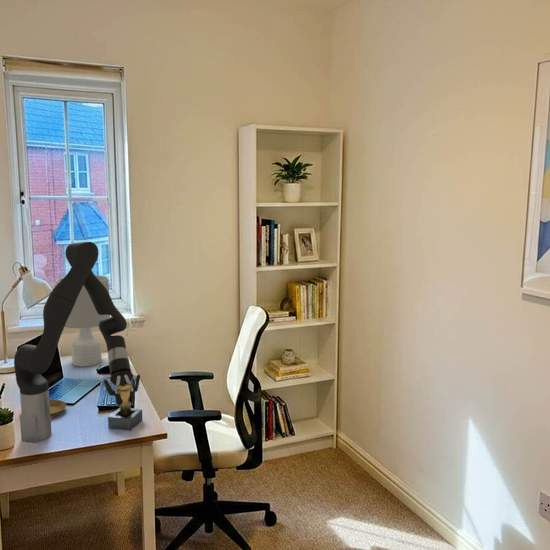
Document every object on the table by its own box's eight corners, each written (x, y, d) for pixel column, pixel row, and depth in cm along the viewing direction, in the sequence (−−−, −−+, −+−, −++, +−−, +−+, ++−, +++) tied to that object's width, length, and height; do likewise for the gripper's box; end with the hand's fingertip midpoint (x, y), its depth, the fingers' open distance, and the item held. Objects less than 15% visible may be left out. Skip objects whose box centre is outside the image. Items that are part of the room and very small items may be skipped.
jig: (130, 431, 195) (129, 419, 194) (108, 428, 197) (107, 416, 196) (142, 420, 204) (142, 409, 203) (121, 417, 206) (120, 406, 205)
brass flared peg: (128, 417, 197) (126, 388, 195) (115, 415, 198) (114, 387, 196) (134, 411, 202) (133, 383, 200) (123, 409, 203) (121, 382, 201)
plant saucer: (56, 402, 220) (56, 396, 220) (73, 413, 210) (73, 406, 210) (19, 413, 210) (19, 407, 209) (35, 425, 200) (35, 418, 199)
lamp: (115, 353, 283) (112, 274, 275) (107, 369, 259) (103, 283, 252) (68, 355, 280) (63, 275, 273) (55, 371, 256) (49, 283, 249)
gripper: (100, 359, 200) (106, 402, 191) (138, 354, 206) (146, 396, 197) (99, 368, 206) (105, 410, 197) (136, 363, 212) (144, 404, 203)
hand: (126, 403), depth 197 cm, fingers closed on brass flared peg, 4 cm apart
